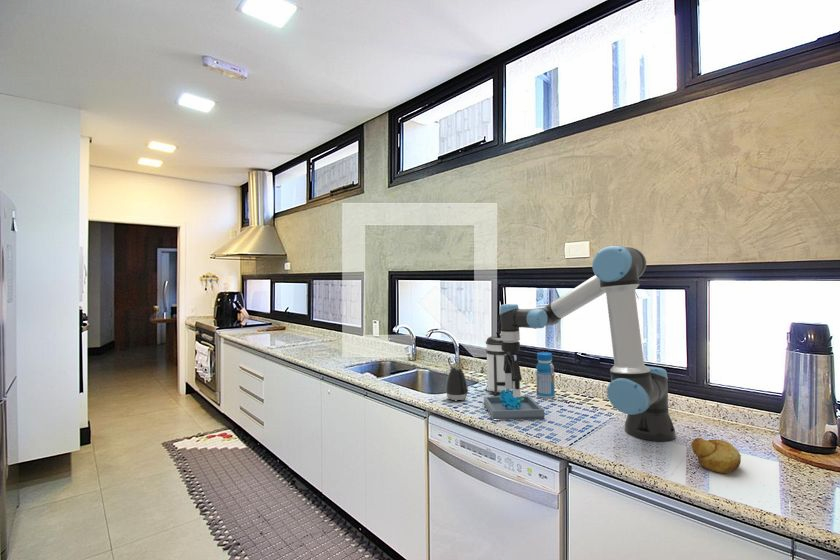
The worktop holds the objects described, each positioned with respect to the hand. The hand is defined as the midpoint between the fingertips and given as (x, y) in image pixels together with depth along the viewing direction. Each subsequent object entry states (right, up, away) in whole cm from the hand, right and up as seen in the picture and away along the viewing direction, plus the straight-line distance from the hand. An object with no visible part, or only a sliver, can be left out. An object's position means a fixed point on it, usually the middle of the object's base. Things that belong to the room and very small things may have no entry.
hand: (512, 392), depth 162 cm
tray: (0, -8, 0) cm, 8 cm away
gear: (0, -7, 0) cm, 7 cm away
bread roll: (+46, -6, -52) cm, 70 cm away
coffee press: (+1, -9, +28) cm, 29 cm away
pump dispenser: (-21, -9, +19) cm, 30 cm away
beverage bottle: (+21, -8, +22) cm, 31 cm away
